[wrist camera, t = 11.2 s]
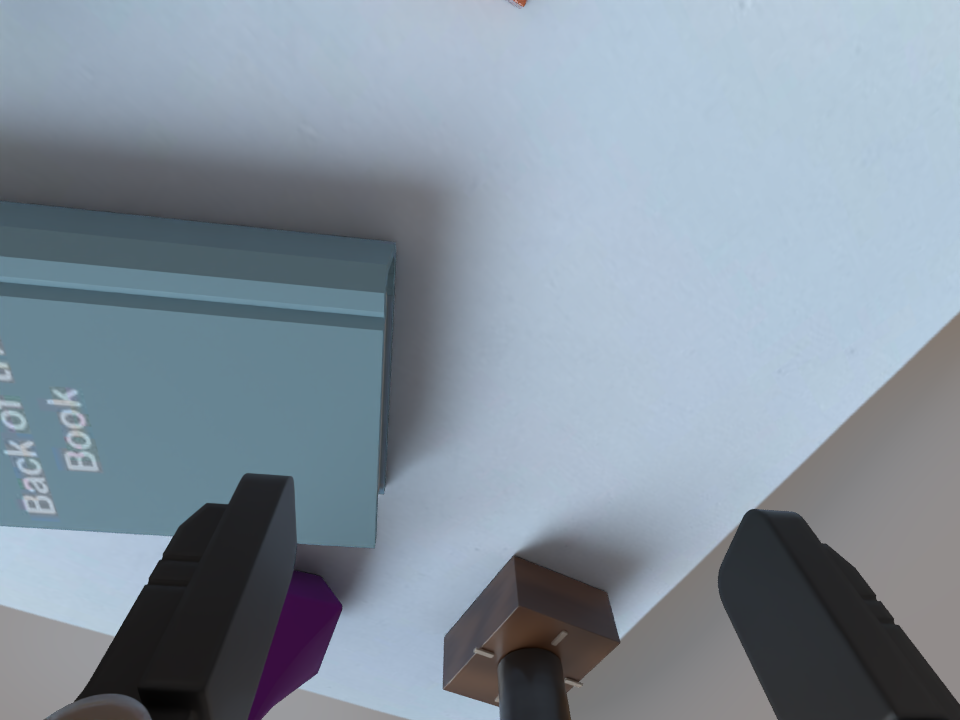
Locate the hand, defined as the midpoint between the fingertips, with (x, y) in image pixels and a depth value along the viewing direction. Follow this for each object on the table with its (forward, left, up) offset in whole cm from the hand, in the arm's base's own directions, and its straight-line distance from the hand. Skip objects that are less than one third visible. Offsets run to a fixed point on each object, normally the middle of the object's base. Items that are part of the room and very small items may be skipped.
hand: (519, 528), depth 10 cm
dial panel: (+9, +28, -20) cm, 36 cm away
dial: (+9, +28, -16) cm, 34 cm away
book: (+18, 0, -20) cm, 27 cm away
